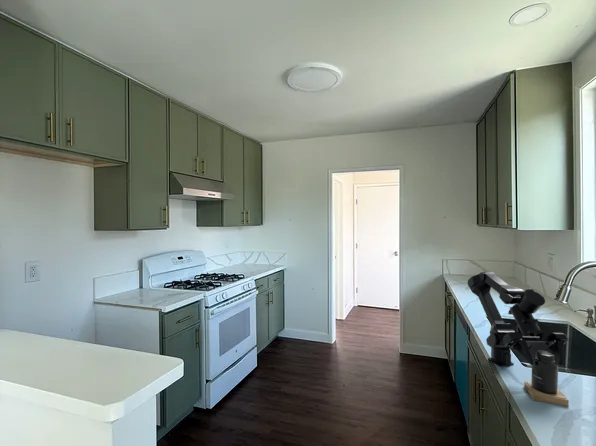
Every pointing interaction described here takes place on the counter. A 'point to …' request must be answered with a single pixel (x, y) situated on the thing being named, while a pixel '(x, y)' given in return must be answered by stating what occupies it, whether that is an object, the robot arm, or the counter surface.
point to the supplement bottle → (545, 372)
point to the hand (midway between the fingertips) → (547, 365)
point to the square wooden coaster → (546, 396)
